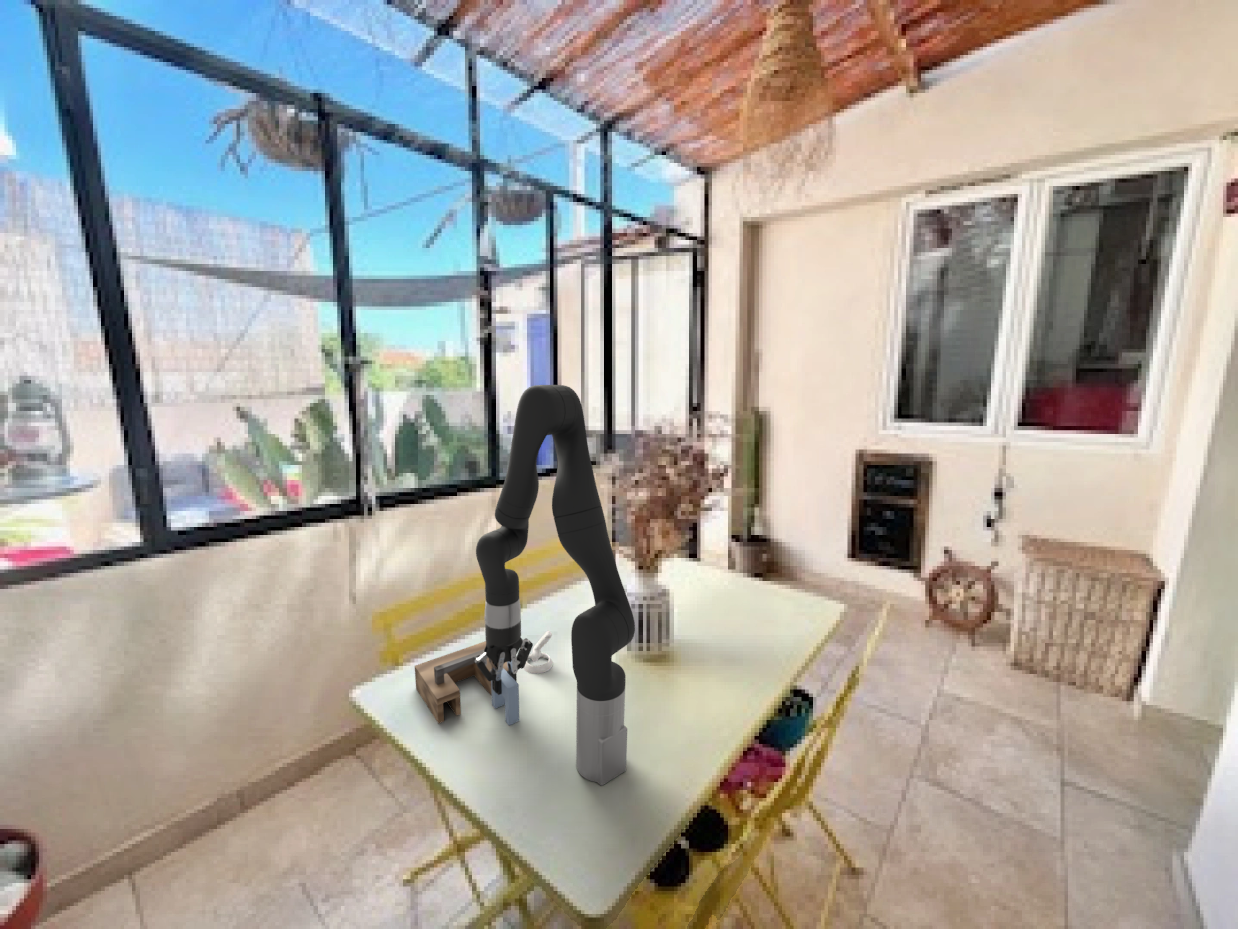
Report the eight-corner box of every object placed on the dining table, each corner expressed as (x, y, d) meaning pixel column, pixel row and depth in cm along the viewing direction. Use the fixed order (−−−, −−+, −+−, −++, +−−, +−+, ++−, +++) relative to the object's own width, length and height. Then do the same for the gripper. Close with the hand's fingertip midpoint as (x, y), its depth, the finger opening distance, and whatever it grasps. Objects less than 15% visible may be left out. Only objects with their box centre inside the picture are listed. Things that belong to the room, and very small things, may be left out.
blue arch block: (519, 720, 110) (518, 684, 108) (508, 725, 109) (508, 688, 107) (501, 700, 117) (501, 665, 115) (491, 705, 115) (490, 669, 113)
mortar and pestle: (569, 656, 126) (546, 645, 123) (542, 686, 129) (519, 676, 127) (569, 635, 132) (547, 623, 130) (543, 664, 136) (521, 653, 133)
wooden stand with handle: (513, 691, 120) (513, 655, 118) (438, 723, 109) (436, 684, 107) (486, 661, 131) (485, 628, 129) (416, 688, 120) (413, 652, 118)
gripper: (479, 636, 101) (482, 712, 104) (540, 615, 109) (540, 686, 113) (464, 621, 106) (467, 693, 110) (523, 602, 115) (524, 670, 119)
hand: (504, 689), depth 111 cm, fingers closed on blue arch block, 2 cm apart
